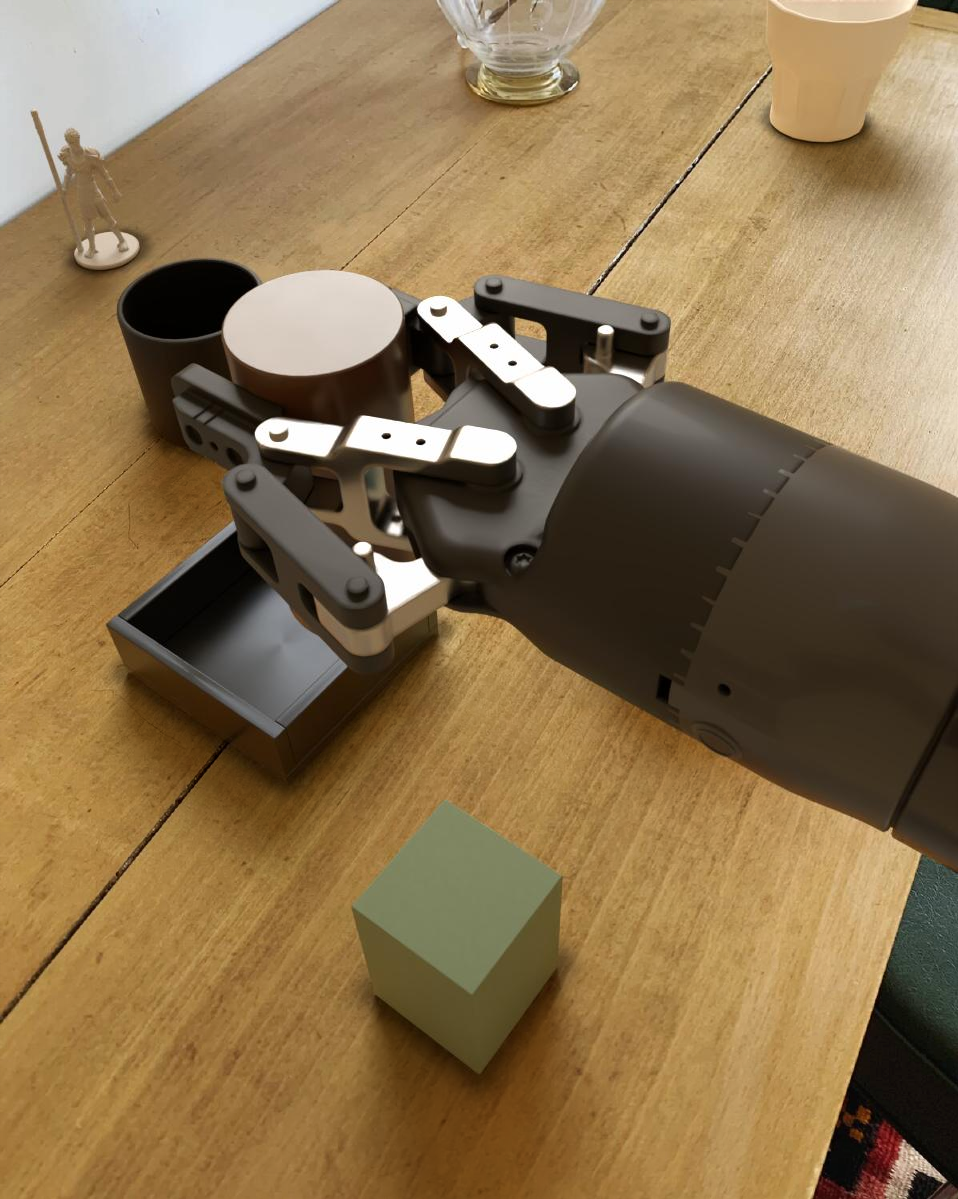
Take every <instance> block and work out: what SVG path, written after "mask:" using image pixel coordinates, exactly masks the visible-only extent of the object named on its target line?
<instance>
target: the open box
mask: <svg viewBox="0 0 958 1199" xmlns="http://www.w3.org/2000/svg"><path fill="white" fill-rule="evenodd" d="M237 538H238V533H237V530H236V526H235V523H234V519H233V520H232V521H230V522H229V523H228V524H226V525H225V526H224V527H223V528H222V529H221V530H219V531H218V532H217V533H216V534H215V535H214V536H212V537H211V538H210V539H208V540H207V541H206V542H205V543H204V544H202V545H201V546H200V547H198V548H197V549H196V550H195V551H194V552H192V553H191V554H190V555H189V556H188V557H187V558H185V559H184V560H183V561H182V562H180V563H179V564H177V565H176V566H175V567H174V568H173V569H172V570H171V571H169V572H168V573H167V574H165V575H164V576H163V577H162V578H161V579H159V580H158V581H157V582H156V583H154V585H152V586H150V588H148V589H147V590H146V591H145V592H143V593H142V594H141V595H140V596H139V597H137V598H136V599H135V600H133V601H132V602H131V603H130V604H129V605H128V606H125V608H124V609H122V610H121V611H120V612H119V613H118V614H117V615H114V616H113V617H112V618H111V619H110V620H109V621H108V622H106V623H105V626H106V628H107V630H108V633H109V635H110V638H111V640H112V642H113V644H114V645H115V649H116V651H117V653H118V655H119V657H120V659H121V662H122V664H123V666H124V668H125V670H126V672H127V673H128V674H130V676H132V677H133V678H135V679H136V680H138V681H139V682H140V683H142V684H143V685H145V686H147V687H148V688H149V689H151V690H152V691H154V692H155V693H156V694H158V695H159V696H161V697H162V698H164V699H165V700H166V701H167V702H170V703H171V704H172V705H174V707H177V708H178V709H179V710H181V711H182V712H184V713H185V714H187V715H188V716H190V717H191V718H192V719H193V720H195V721H197V722H198V723H199V724H201V725H202V726H204V727H205V728H206V729H208V730H209V731H211V732H212V733H213V734H215V735H216V736H218V737H220V738H221V739H222V740H224V741H225V742H226V743H228V744H230V745H231V746H232V747H233V748H235V749H237V750H238V751H240V752H241V753H242V754H244V755H245V756H246V757H248V758H250V760H252V761H254V762H255V763H257V765H259V766H260V767H262V768H264V769H265V770H266V771H268V772H269V773H271V774H272V775H273V776H275V777H276V778H278V779H279V780H281V781H282V782H284V783H285V784H286V785H290V784H291V783H292V782H293V781H294V780H296V779H297V777H298V776H299V775H301V773H302V772H303V771H304V770H305V769H306V768H307V767H309V765H310V764H311V763H312V762H313V761H314V760H315V759H316V758H317V757H318V756H319V755H320V754H321V753H322V752H323V750H325V749H326V748H327V746H329V745H330V744H331V743H332V742H333V740H334V739H335V738H337V736H338V735H339V734H340V733H341V732H342V731H343V730H344V729H345V728H346V727H347V726H348V725H349V724H350V723H351V722H352V721H353V720H354V719H355V718H356V717H357V716H358V715H359V714H360V713H361V712H362V711H363V710H364V709H365V708H366V707H367V706H368V705H369V704H370V702H372V701H373V699H374V698H375V697H376V696H378V694H380V692H381V691H382V690H384V688H385V687H386V686H387V685H388V684H389V683H390V682H391V681H392V680H393V679H394V678H395V677H396V676H397V675H398V674H399V673H400V672H401V671H402V670H403V669H404V668H405V667H406V666H407V665H408V664H409V663H410V662H411V661H412V660H413V659H414V658H415V657H416V656H417V655H418V653H420V651H422V650H423V648H425V647H426V646H427V644H428V643H430V641H431V640H432V639H433V638H434V637H435V636H436V635H437V634H438V633H439V632H440V631H439V630H440V629H439V624H438V623H439V618H438V610H436V611H435V612H433V613H431V614H430V615H428V616H427V617H425V618H424V619H422V620H420V621H419V622H417V623H416V624H414V625H413V626H411V627H410V628H408V629H406V630H405V631H403V632H402V633H400V634H399V635H397V636H395V637H394V638H393V645H394V653H395V654H394V659H393V661H392V663H391V664H390V666H389V667H388V668H386V669H385V670H384V671H382V672H380V673H377V674H372V675H362V674H358V673H356V672H354V671H352V670H351V669H350V668H349V667H348V666H347V665H346V664H345V663H344V662H343V661H342V660H341V659H340V658H339V657H338V656H337V655H336V654H335V653H334V652H333V651H332V650H331V648H330V647H329V646H328V645H327V644H326V643H325V642H324V641H323V640H322V639H321V638H320V637H319V636H317V635H316V634H314V633H312V632H310V631H309V630H307V629H306V628H305V627H303V626H302V625H301V624H300V623H299V622H298V621H297V619H296V618H295V617H294V615H293V614H292V612H291V610H290V607H289V605H288V604H287V603H286V602H285V600H284V599H283V598H282V597H281V596H280V595H279V594H278V593H277V592H276V591H275V590H274V589H273V588H272V587H271V586H270V585H269V584H268V583H267V582H266V581H265V580H264V579H263V578H262V576H261V575H260V574H259V573H258V572H257V571H256V570H255V569H254V568H253V567H252V566H251V565H250V564H249V563H248V562H247V561H246V560H245V559H244V558H243V556H242V554H241V551H240V547H239V544H238V539H237Z"/></svg>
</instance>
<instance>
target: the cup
mask: <svg viewBox="0 0 958 1199" xmlns="http://www.w3.org/2000/svg"><path fill="white" fill-rule="evenodd" d="M918 3H919V0H766V22H765V23H766V25H765V26H766V27H765V28H766V30H765V40H766V47H767V50H768V53H769V56H770V60H771V64H772V65H771V87H772V88H771V91H772V92H771V98H772V102H771V106H770V111H769V123H770V124H771V125H772V126H773V127H774V128H775V129H776V130H777V131H779V133H782V134H784V135H786V136H788V137H790V138H793V139H796V140H800V141H804V142H812V143H832V142H838V141H843V140H846V139H849V138H851V137H854V136H855V135H857V134H858V133H860V132H861V131H862V128H863V127H864V123H865V120H866V115H867V109H868V107H869V105H870V102H871V100H872V97H873V96H874V92H875V90H876V88H877V86H878V83H879V82H880V79H881V76H882V74H883V72H884V71H885V70H886V69H887V67H888V66H889V65H890V63H891V62H892V61H893V59H894V58H895V56H896V54H897V53H898V52H899V50H900V47H901V45H902V43H903V40H904V38H905V35H906V33H907V31H908V28H909V25H910V22H911V20H912V18H913V15H914V13H915V10H916V8H917V5H918Z"/></svg>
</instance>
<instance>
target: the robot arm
mask: <svg viewBox="0 0 958 1199" xmlns="http://www.w3.org/2000/svg"><path fill="white" fill-rule="evenodd" d="M329 270H335V268H330V269H329ZM383 284H384V285H385V286H387V287H388V288H389V289H390V290H392V291H393V292H394V293H395V295H396V296H397V297H398V299H399V300H400V302H401V304H402V306H403V310H404V315H405V325H406V335H407V345H408V355H409V365H410V375H411V377H412V376H414V375H415V374H416V373H418V372H419V371H420V370H422V374H423V380H424V382H425V384H427V386H428V387H430V389H431V390H432V391H433V392H434V393H435V394H436V395H437V396H438V397H439V398H440V399H441V400H442V401H443V402H444V404H443V405H442V406H441V408H440V409H438V410H436V411H434V412H432V413H431V414H428V415H427V416H425V417H423V418H421V419H418V420H417V421H415V423H414V424H410V423H404V422H398V421H392V420H387V419H381V418H375V417H369V416H357V417H355V418H353V419H352V420H351V422H350V424H349V425H348V426H345V427H342V426H335V425H330V424H324V423H318V422H313V421H307V420H301V419H295V418H290V417H284V416H283V412H282V407H280V406H278V405H276V404H274V403H272V402H270V401H268V400H266V399H264V398H262V397H260V396H257V395H255V394H253V393H251V392H250V391H248V390H246V389H245V388H243V387H241V386H239V385H237V384H235V383H233V382H231V381H229V380H227V379H225V378H223V377H221V376H219V375H217V374H215V373H213V372H211V371H209V370H207V369H205V368H203V367H202V366H200V365H197V364H194V363H193V364H190V365H189V366H187V367H186V368H185V369H183V370H182V371H180V372H179V373H177V374H176V375H174V376H173V377H172V378H171V384H172V388H173V391H174V395H175V398H174V399H173V400H172V401H173V404H174V408H175V411H176V414H177V417H178V421H179V424H180V427H181V430H182V434H183V437H184V440H185V441H186V443H187V444H188V446H189V447H190V449H189V450H191V451H192V452H195V453H196V454H198V455H199V456H201V457H203V458H206V459H207V460H209V461H210V462H212V463H214V464H216V465H218V466H219V467H221V468H223V469H224V470H227V472H226V473H225V474H224V475H223V477H222V479H221V487H222V491H223V495H224V498H225V501H226V503H227V504H228V505H229V508H230V512H231V516H232V519H233V520H234V523H235V526H236V530H237V533H238V538H237V539H238V544H239V547H240V551H241V554H242V556H243V558H244V559H245V560H246V561H247V562H248V563H249V564H250V565H251V566H252V567H253V568H254V569H255V570H256V571H257V572H258V573H259V574H260V575H261V576H262V578H263V579H264V580H265V581H266V582H267V583H268V584H269V585H270V586H271V587H272V588H273V589H274V590H275V591H276V592H277V593H278V594H279V595H280V596H281V597H282V598H283V599H284V600H285V602H286V603H287V604H288V605H289V606H290V607H291V608H292V609H293V610H294V611H295V612H296V613H297V614H298V615H299V616H300V617H301V618H302V619H303V620H304V621H305V622H306V623H307V624H308V626H309V627H310V628H311V629H312V630H313V631H314V632H315V633H316V634H317V635H318V636H319V637H320V638H321V639H322V640H323V641H324V642H325V643H326V644H327V645H328V646H329V647H330V648H331V650H332V651H333V652H334V653H335V654H336V655H337V656H338V657H339V658H340V659H341V660H342V661H343V662H344V663H345V664H346V665H347V666H348V667H349V668H350V669H351V670H352V671H354V672H356V673H358V674H362V675H372V674H377V673H380V672H382V671H384V670H385V669H386V668H388V667H389V666H390V664H391V663H392V661H393V659H394V654H395V653H394V645H393V638H394V637H395V636H397V635H399V634H400V633H402V632H403V631H405V630H406V629H408V628H410V627H411V626H413V625H414V624H416V623H417V622H419V621H420V620H422V619H424V618H425V617H427V616H428V615H430V614H431V613H433V612H435V611H436V610H437V611H438V610H439V609H441V608H443V607H445V608H446V609H449V610H451V611H453V612H459V613H463V614H475V615H483V616H489V617H493V618H496V619H500V620H503V621H505V622H507V623H508V624H510V625H511V626H513V627H514V628H515V629H516V630H517V631H518V632H520V634H522V635H523V636H524V637H525V638H526V639H527V640H528V641H529V642H530V643H531V644H532V645H533V646H534V647H536V648H537V650H539V651H540V652H541V653H542V654H543V655H545V656H546V657H548V658H549V659H551V660H553V661H554V662H555V663H558V664H560V665H562V666H563V667H565V668H566V669H569V670H570V671H572V672H574V673H575V674H578V675H579V676H580V677H583V678H584V679H587V680H588V681H589V682H592V683H594V684H595V685H597V686H599V687H600V688H602V689H604V690H606V691H608V692H609V693H611V694H613V695H615V696H616V697H618V698H620V699H622V700H624V701H625V702H627V703H629V704H630V705H632V706H635V707H636V708H638V709H640V710H641V711H643V712H645V713H647V714H649V715H650V716H652V717H654V718H655V719H658V720H659V721H661V722H663V723H664V724H666V725H668V726H669V727H672V728H673V729H675V730H677V731H678V732H680V733H682V734H684V735H686V736H688V737H690V738H692V739H693V740H695V741H696V742H698V743H700V744H702V745H703V746H705V747H706V749H708V750H710V751H712V752H713V753H715V754H717V755H719V756H721V757H722V758H723V757H724V758H727V759H729V760H730V761H732V762H734V763H736V764H738V765H739V766H741V767H743V768H745V769H746V770H748V771H750V772H751V773H754V774H755V775H757V776H759V777H761V778H762V779H764V780H766V781H768V782H769V783H772V784H773V785H776V786H778V787H780V788H782V789H783V790H786V791H787V792H789V793H792V794H794V795H795V796H799V797H801V798H804V799H806V800H808V801H810V802H813V803H815V804H818V805H820V806H823V807H826V808H828V809H830V810H833V811H836V812H838V813H841V814H843V815H846V816H848V817H850V818H852V819H855V820H858V821H859V822H862V823H864V824H866V825H868V826H870V827H872V828H873V829H876V830H878V831H880V832H882V833H886V832H889V830H890V829H892V830H891V832H890V834H891V838H893V839H894V840H896V841H898V842H900V843H902V844H903V845H905V846H907V847H908V848H910V849H912V850H914V851H916V852H917V853H919V854H921V855H923V856H925V857H926V858H928V859H930V860H932V861H933V862H935V863H937V864H939V865H941V866H942V867H945V868H946V869H948V870H950V871H952V872H953V873H955V874H957V875H958V496H956V495H954V494H952V493H950V492H948V491H946V490H943V489H942V488H940V487H937V486H935V485H933V484H931V483H929V482H926V481H925V480H922V479H919V478H917V477H914V476H912V475H909V474H907V473H905V472H902V471H899V470H897V469H895V468H893V467H890V466H887V465H885V464H883V463H880V462H878V461H876V460H873V459H870V458H868V457H866V456H863V455H861V454H859V453H856V452H854V451H852V450H849V449H846V448H845V447H842V446H839V445H836V444H834V443H833V442H829V441H828V440H825V439H822V438H819V437H817V436H815V435H812V434H810V433H807V432H805V431H802V430H800V429H797V428H795V427H793V426H791V425H789V424H786V423H784V422H781V421H778V420H776V419H774V418H771V417H769V416H767V415H764V414H762V413H759V412H757V411H754V410H751V409H749V408H747V407H744V406H743V405H739V404H737V403H734V402H732V401H730V400H728V399H726V398H723V397H720V396H718V395H715V394H713V393H711V392H709V391H705V390H703V389H701V388H698V387H696V386H693V385H691V384H688V383H685V382H682V381H676V380H670V381H669V380H668V381H667V380H666V381H665V378H666V371H667V362H668V352H669V344H670V337H671V336H670V335H671V327H672V319H671V318H670V317H669V315H668V314H666V313H665V312H664V311H662V310H658V309H655V308H650V307H645V306H641V305H637V304H633V303H632V304H631V303H627V302H622V301H618V300H613V299H609V298H604V297H601V296H597V295H592V294H588V293H582V292H577V291H574V290H569V289H564V288H560V287H555V286H551V285H547V284H542V283H537V282H533V281H529V280H524V279H520V278H515V277H511V276H507V275H501V274H489V275H484V276H482V277H480V278H478V279H477V280H476V281H474V283H473V295H471V296H468V297H466V298H463V299H461V300H458V301H456V300H455V299H454V298H452V297H450V296H449V297H448V296H442V295H440V296H439V295H438V296H437V295H436V296H432V297H428V298H426V299H424V300H423V299H420V298H418V297H415V296H413V295H411V294H408V293H406V292H404V291H401V290H399V289H397V288H394V287H392V286H390V285H387V284H385V283H383ZM516 319H520V320H525V321H528V322H532V323H537V324H539V325H541V327H543V329H544V331H545V334H546V335H545V336H546V337H545V338H546V339H545V340H544V339H539V338H536V337H531V336H527V335H523V334H519V333H516ZM311 467H312V468H317V469H323V470H327V471H330V472H332V473H333V474H335V475H336V476H337V478H338V480H336V479H331V478H325V477H320V476H315V475H312V471H311ZM383 468H388V469H393V479H394V487H395V495H396V500H394V499H393V498H392V497H391V496H390V495H389V494H388V492H387V490H386V486H385V479H384V471H383ZM323 522H326V523H332V524H337V525H340V526H342V527H343V528H344V529H345V530H346V531H347V532H348V533H349V534H350V535H351V536H352V537H353V538H355V539H356V540H358V541H361V542H360V543H357V544H355V545H354V546H353V547H352V549H351V548H350V547H349V546H348V545H346V544H345V543H344V542H343V541H342V540H341V539H340V538H339V537H338V536H337V535H336V534H335V533H334V532H333V531H332V530H331V529H330V528H328V527H327V526H326V525H325V524H324V523H323ZM371 544H374V545H379V546H385V547H390V548H395V549H400V550H405V551H410V552H413V553H414V556H415V558H416V560H415V561H412V562H405V563H401V562H394V561H391V560H389V559H387V558H386V557H384V556H383V555H381V554H379V553H375V552H373V547H372V545H371Z"/></svg>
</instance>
